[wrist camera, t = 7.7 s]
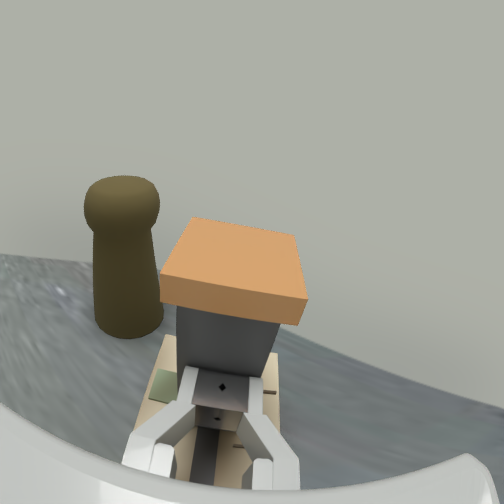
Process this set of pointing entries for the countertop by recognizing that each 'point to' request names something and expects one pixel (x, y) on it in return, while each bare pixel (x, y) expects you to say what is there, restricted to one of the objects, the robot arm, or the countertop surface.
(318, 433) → the countertop surface
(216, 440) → the fader board
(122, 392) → the countertop surface
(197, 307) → the fader knob
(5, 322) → the countertop surface
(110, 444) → the countertop surface
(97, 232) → the cork
